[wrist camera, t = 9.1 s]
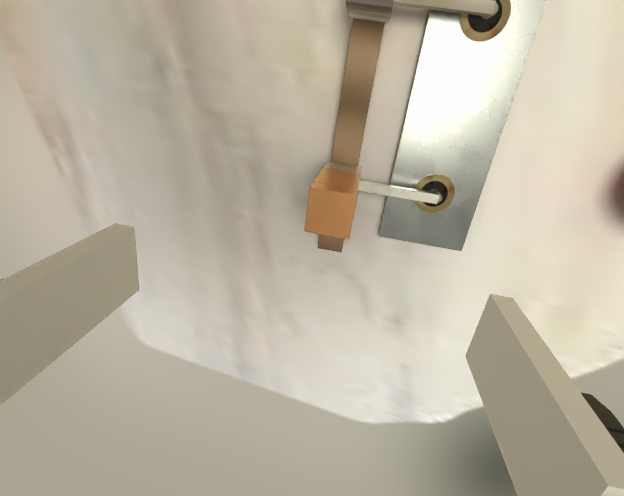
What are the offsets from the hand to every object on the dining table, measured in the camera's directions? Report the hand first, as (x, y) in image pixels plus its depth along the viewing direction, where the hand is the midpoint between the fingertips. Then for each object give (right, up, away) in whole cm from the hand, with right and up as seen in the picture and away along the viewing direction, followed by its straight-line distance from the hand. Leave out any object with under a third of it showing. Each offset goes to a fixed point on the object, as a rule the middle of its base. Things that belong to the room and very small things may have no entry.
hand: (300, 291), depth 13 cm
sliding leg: (+7, +7, +19) cm, 22 cm away
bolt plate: (+13, +13, +17) cm, 25 cm away
